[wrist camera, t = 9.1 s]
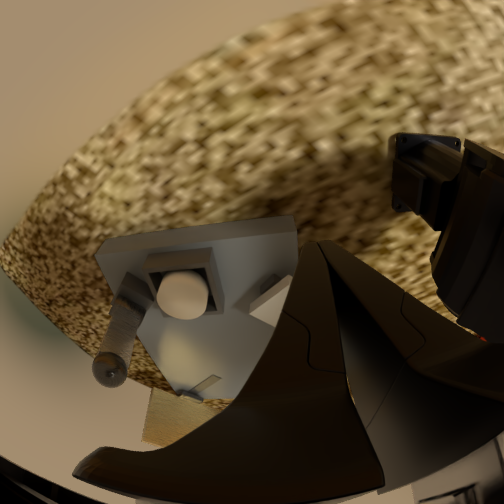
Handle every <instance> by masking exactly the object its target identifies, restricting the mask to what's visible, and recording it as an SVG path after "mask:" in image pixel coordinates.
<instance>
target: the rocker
mask: <svg viewBox="0 0 504 504" xmlns="http://www.w3.org/2000/svg"><path fill="white" fill-rule="evenodd" d="M292 278H293V277H292V276H290V275H287V276H286V277H285V278H283V279H282V280H281V281H280V282H278V283H277V284H276V285H274V286H273V287H272V288H270V289H269V290H268V291H266V292H265V293H264V294H263V295H261V296H260V297H259V298H257V299H256V300H255V301H253V302H252V303H251V304H250V310H249V314H250V315H252V316H254V317H256V318H258V319H260V320H262V321H264V322H266V323H268V324H270V325H272V326H274V327H276V324H277V321H278V319H279V316H280V313H281V310H282V308H283V305H284V302H285V299H286V296H287V293H288V290H289V287H290V284H291V281H292Z"/></svg>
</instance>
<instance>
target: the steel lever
mask: <svg viewBox="0 0 504 504" xmlns="http://www.w3.org/2000/svg"><path fill="white" fill-rule="evenodd" d="M109 314H110V315H111V316H112V317H111V319H110V322H109V324H108V327H107V329H106V332H105V334H104V337H103V339H102V342H101V345H100V347H99V350H98V353H97V356H96V358H95V359H94V361H93V364H92V372H93V375H94V377H95V379H96V380H97V381H98V382H99V383H100V384H101V385H103V386H105V387H109V388H115V387H118V386H120V385H122V384H123V383H124V381H125V380H126V378H127V372H128V371H127V369H128V367H129V365H130V360H131V355H132V350H133V346H134V341H135V337H136V333H137V329H138V328H139V327H140V325H141V323H142V321H143V319H144V317H145V314H146V309H144V308H142V307H140V306H139V305H137V304H135V303H133V302H131V301H130V300H128V299H126V298H124V297H123V296H121V295H119V294H118V295H117V297H116V299H115V301H114V303H113V305H112V307H111V309H110V312H109Z"/></svg>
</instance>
